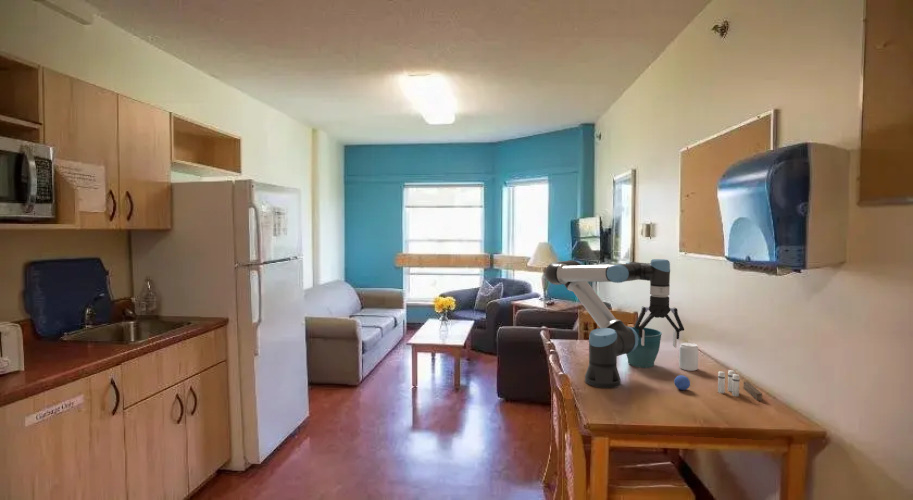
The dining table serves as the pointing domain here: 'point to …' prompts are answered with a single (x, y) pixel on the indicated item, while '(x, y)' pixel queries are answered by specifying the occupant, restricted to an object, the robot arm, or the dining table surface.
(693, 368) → the beverage can
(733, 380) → the pin
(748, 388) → the wall
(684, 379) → the ball
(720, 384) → the front pin
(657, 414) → the dining table surface
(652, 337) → the flower pot
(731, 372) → the pin
